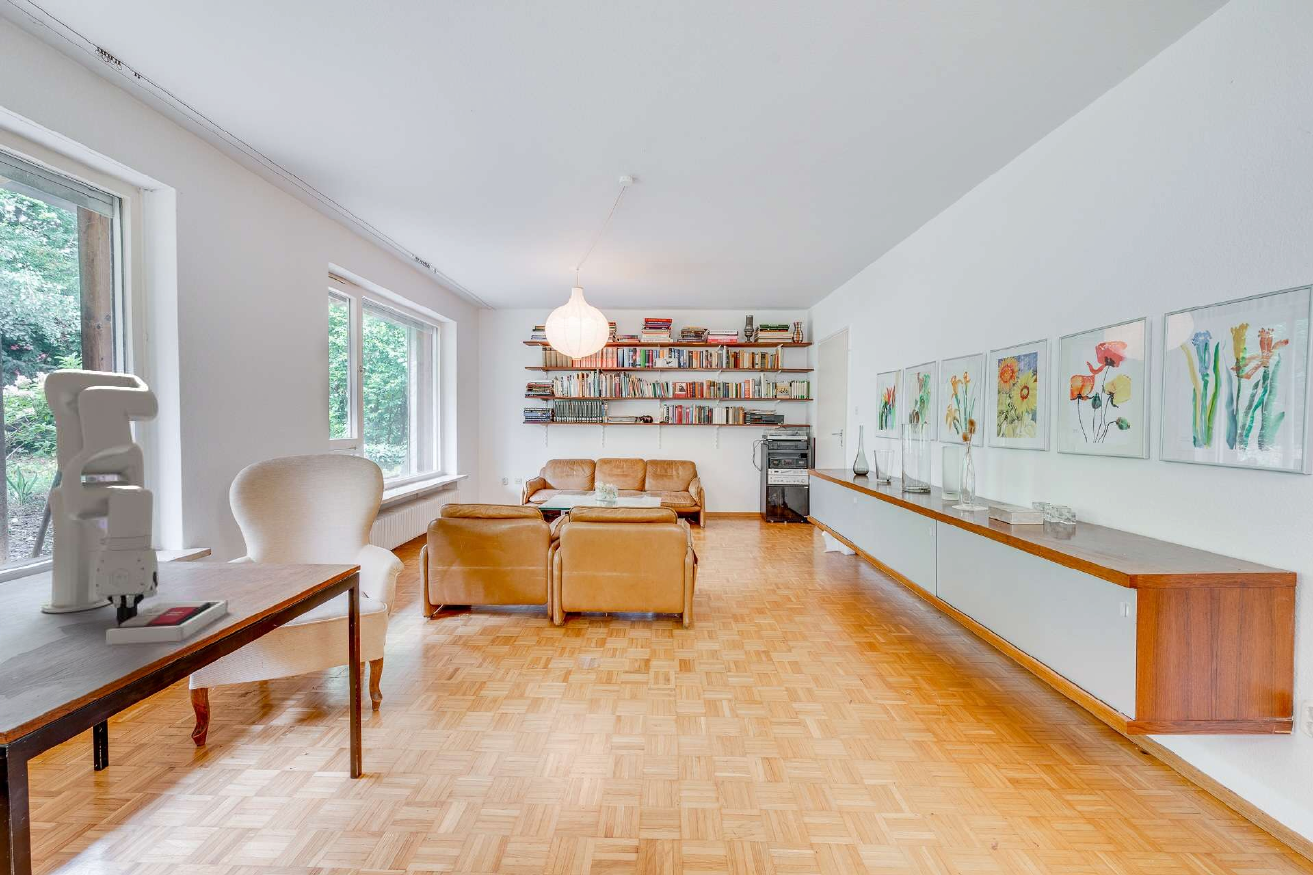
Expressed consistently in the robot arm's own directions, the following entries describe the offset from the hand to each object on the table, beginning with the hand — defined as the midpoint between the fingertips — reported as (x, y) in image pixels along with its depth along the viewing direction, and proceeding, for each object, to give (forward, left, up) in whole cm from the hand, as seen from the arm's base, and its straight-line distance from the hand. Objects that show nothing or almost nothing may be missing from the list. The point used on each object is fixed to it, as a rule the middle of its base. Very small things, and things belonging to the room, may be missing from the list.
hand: (126, 623), depth 126 cm
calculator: (-1, +7, -2) cm, 8 cm away
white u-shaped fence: (0, +8, -1) cm, 8 cm away
